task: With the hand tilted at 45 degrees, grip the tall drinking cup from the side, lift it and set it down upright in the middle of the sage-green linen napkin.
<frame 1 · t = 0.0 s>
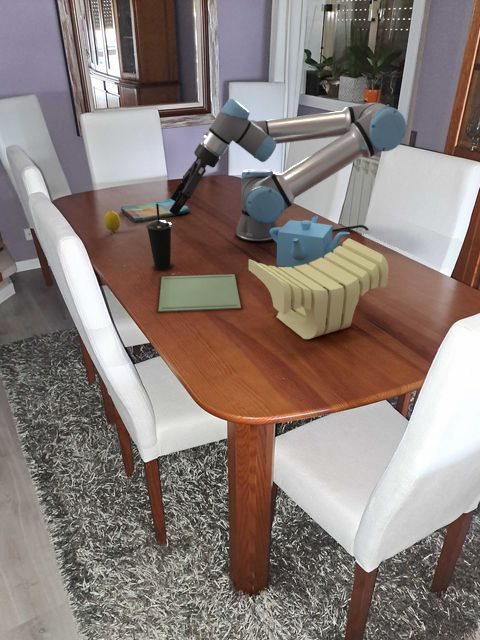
hand: (173, 206, 167), 15 cm above the table, tool tilted 35°, fingers open, 13 cm apart
teakettle: (306, 268, 165), on the table
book: (155, 213, 211), on the table
slatted curved stool: (314, 324, 134), on the table
drinking cup: (162, 267, 164), on the table
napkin: (199, 292, 149), on the table
lemon: (113, 232, 191), on the table
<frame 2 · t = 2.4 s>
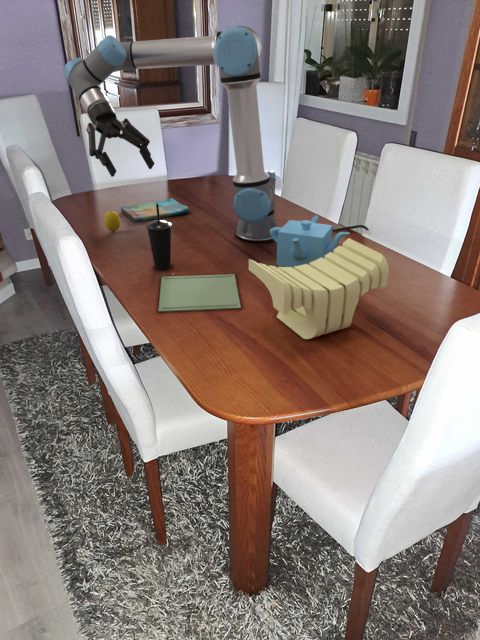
hand: (133, 170, 156), 28 cm above the table, tool tilted 45°, fingers open, 13 cm apart
nothing on the table moved.
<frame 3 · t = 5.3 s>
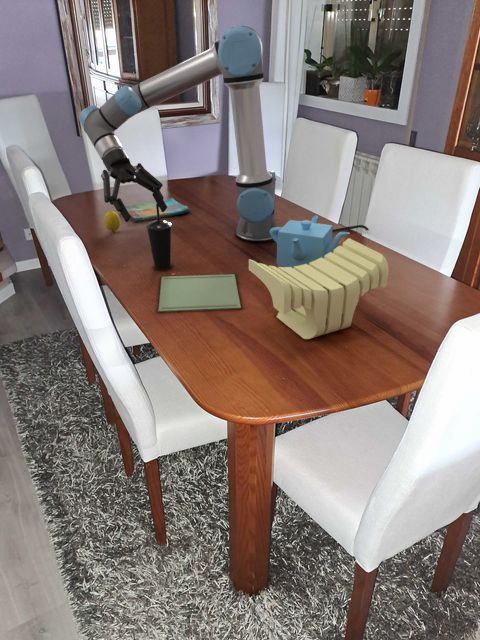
hand: (147, 214, 159), 16 cm above the table, tool tilted 45°, fingers open, 13 cm apart
nothing on the table moved.
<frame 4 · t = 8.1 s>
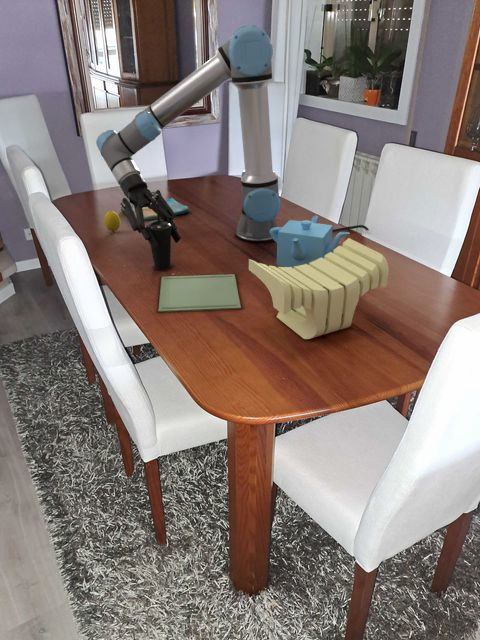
hand: (167, 244, 158), 9 cm above the table, tool tilted 45°, fingers closed on drinking cup, 8 cm apart
drinking cup: (162, 267, 164), on the table, touching gripper
everything else where it was.
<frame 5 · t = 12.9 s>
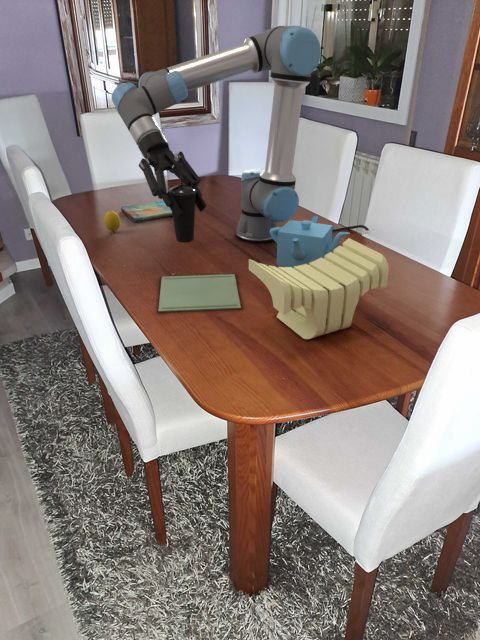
hand: (191, 212, 139), 23 cm above the table, tool tilted 45°, fingers closed on drinking cup, 8 cm apart
drinking cup: (185, 240, 146), point 14 cm above the table, touching gripper
everything else where it was.
when the fingers open (9 cm above the table, at t = 17.8 s): drinking cup stays where it is, resting on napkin.
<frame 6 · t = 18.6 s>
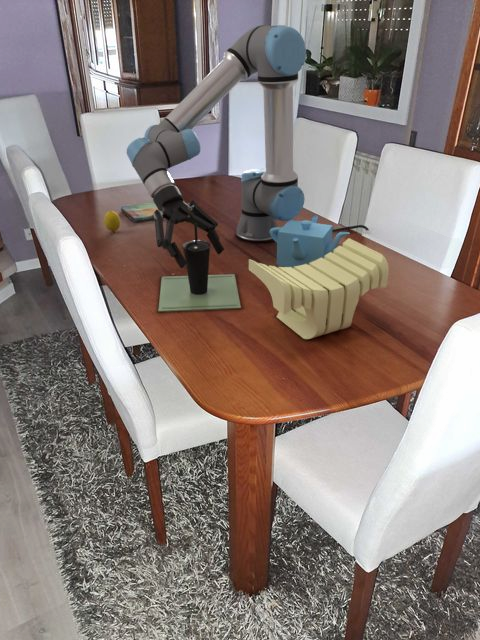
hand: (203, 258, 142), 11 cm above the table, tool tilted 45°, fingers open, 13 cm apart
drinking cup: (198, 291, 149), resting on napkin
everything else where it was.
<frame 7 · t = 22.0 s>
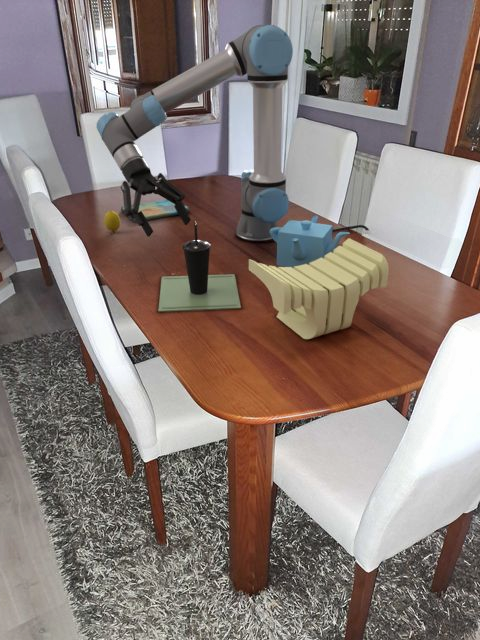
hand: (169, 228, 149), 15 cm above the table, tool tilted 45°, fingers open, 13 cm apart
nothing on the table moved.
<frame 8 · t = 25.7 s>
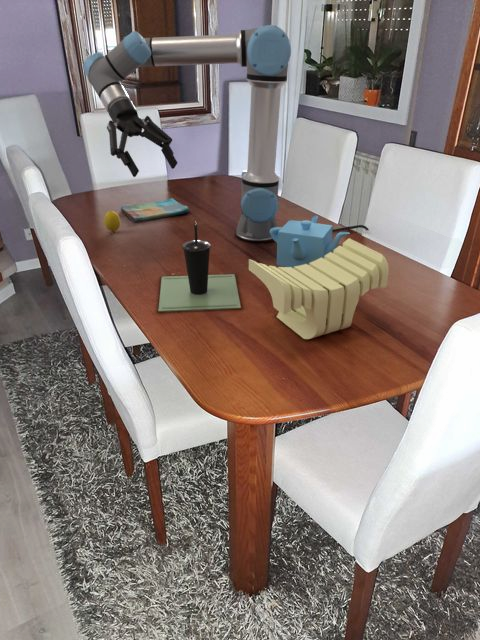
hand: (156, 169, 149), 30 cm above the table, tool tilted 45°, fingers open, 13 cm apart
nothing on the table moved.
at the end: drinking cup inside the target area on the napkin (0.1 cm from its centre), point 0.2 cm above the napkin's base; drinking cup tilted 0°; the gripper is holding nothing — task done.
